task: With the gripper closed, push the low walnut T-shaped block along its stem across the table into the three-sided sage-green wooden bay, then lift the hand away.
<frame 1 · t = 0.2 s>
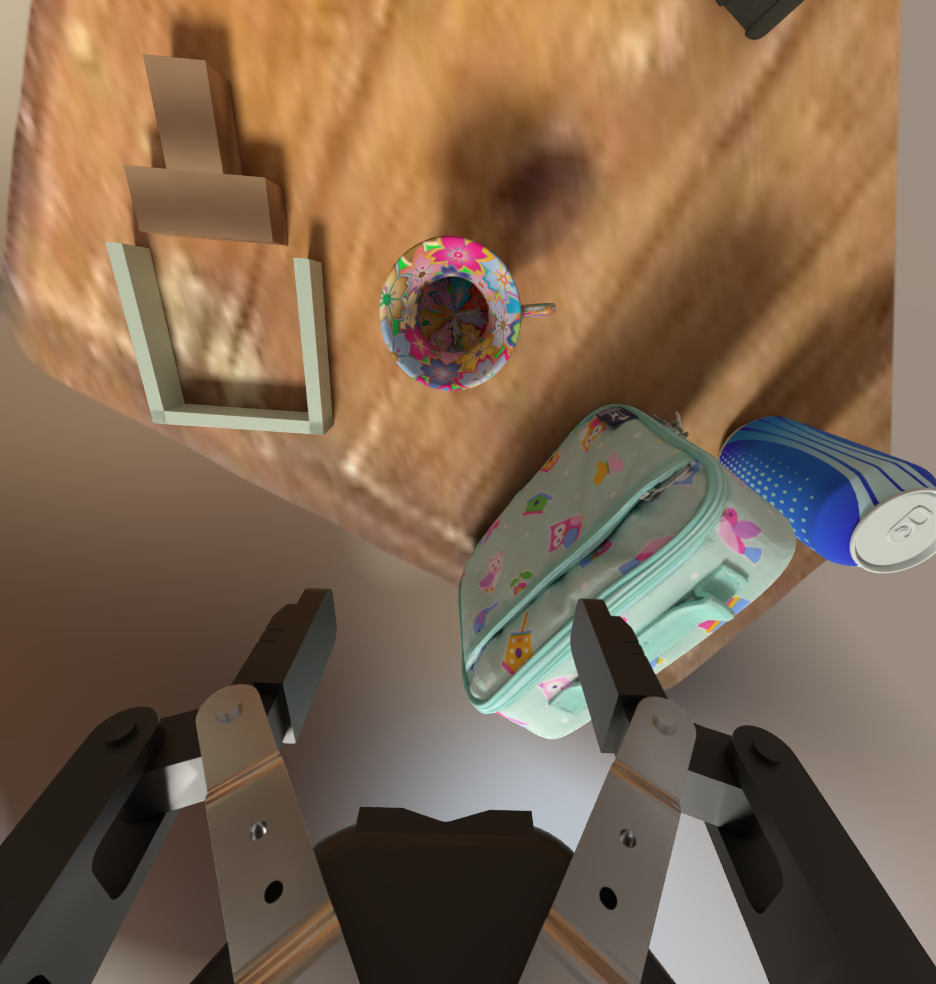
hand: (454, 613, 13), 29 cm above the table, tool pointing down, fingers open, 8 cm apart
lunch box: (557, 500, 44), on the table
bay: (241, 337, 37), on the table
t block: (215, 165, 31), on the table
beer can: (751, 452, 42), on the table
mug: (469, 313, 36), on the table
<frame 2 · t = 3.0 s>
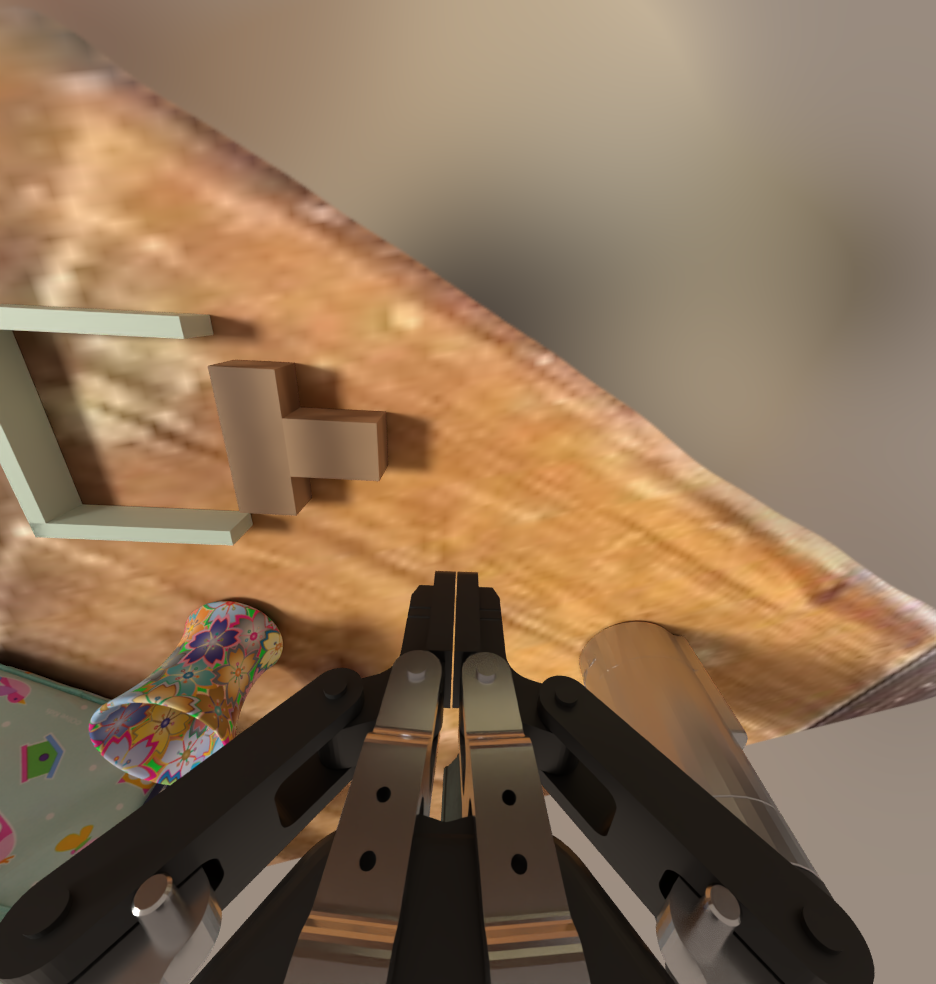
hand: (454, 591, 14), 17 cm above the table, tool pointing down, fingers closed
lunch box: (92, 712, 42), on the table
bay: (141, 427, 29), on the table
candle: (470, 766, 46), on the table
t block: (317, 435, 29), on the table
mug: (246, 640, 38), on the table
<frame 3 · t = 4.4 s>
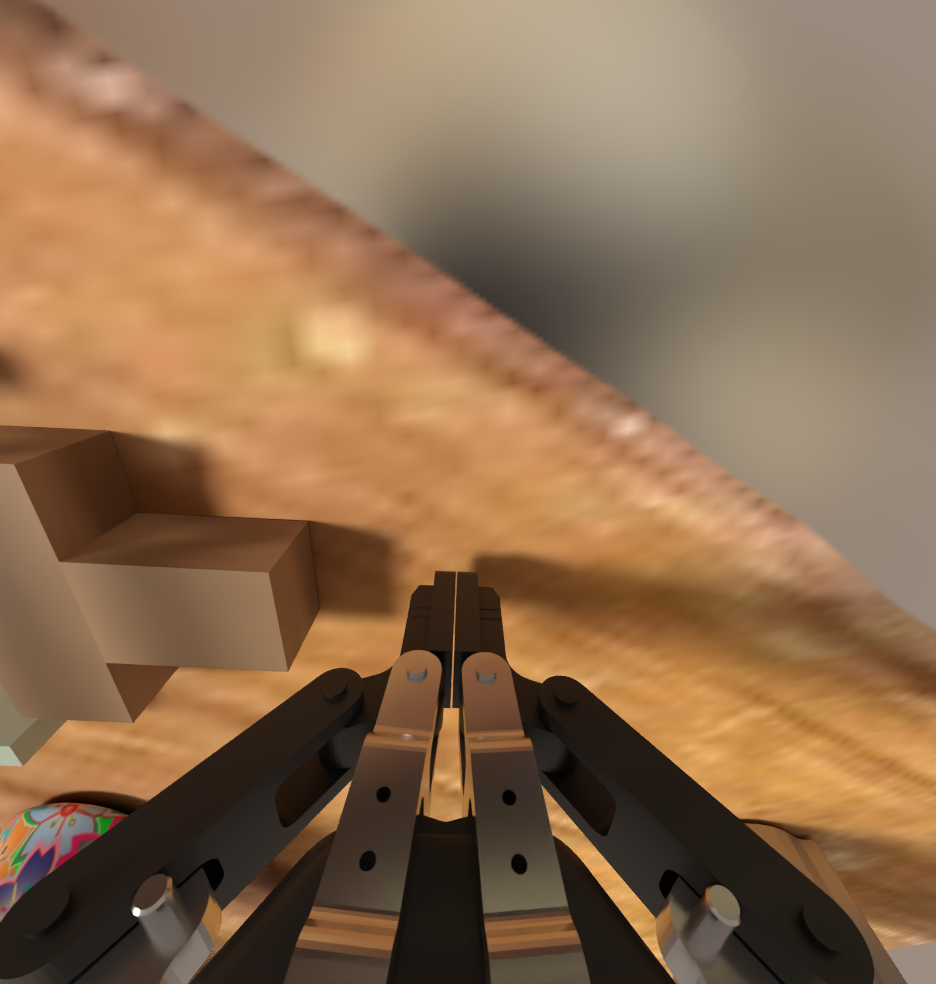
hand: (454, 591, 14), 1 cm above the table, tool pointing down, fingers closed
t block: (180, 560, 15), on the table
mug: (117, 839, 24), on the table
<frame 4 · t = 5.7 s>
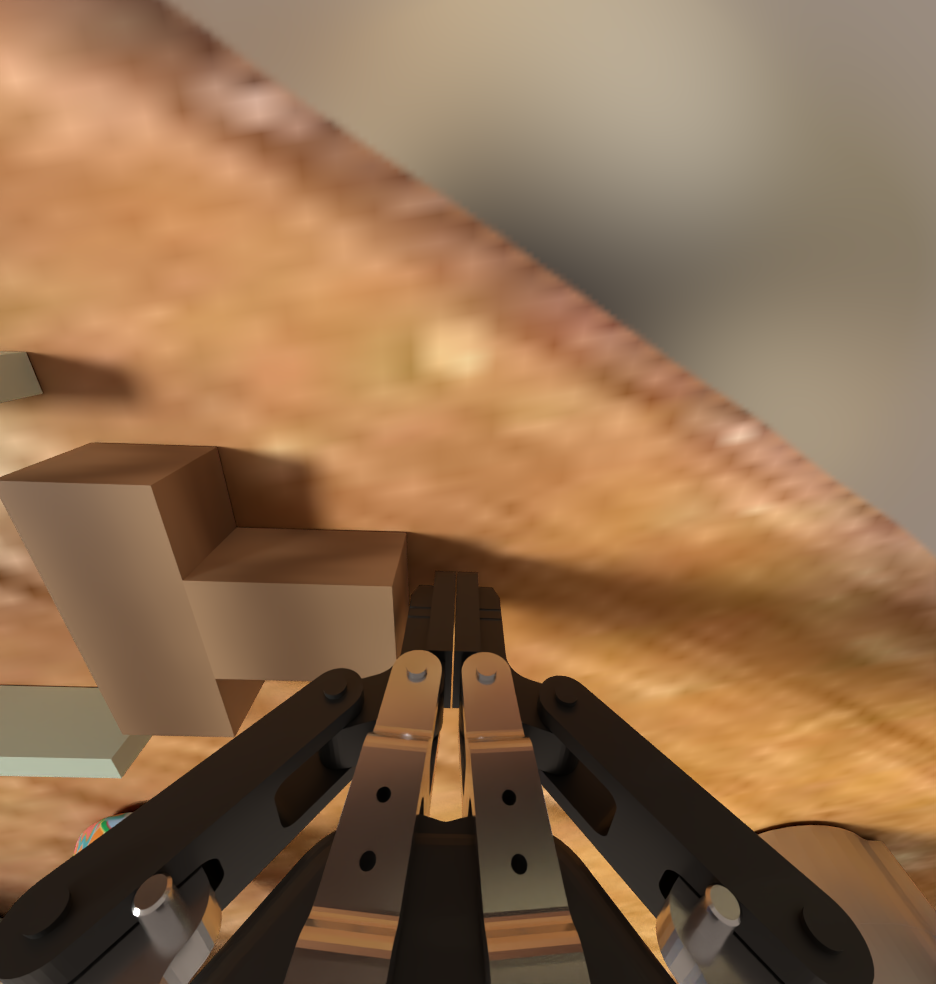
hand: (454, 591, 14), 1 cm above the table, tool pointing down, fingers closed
t block: (274, 574, 15), on the table, touching gripper
mug: (183, 847, 24), on the table
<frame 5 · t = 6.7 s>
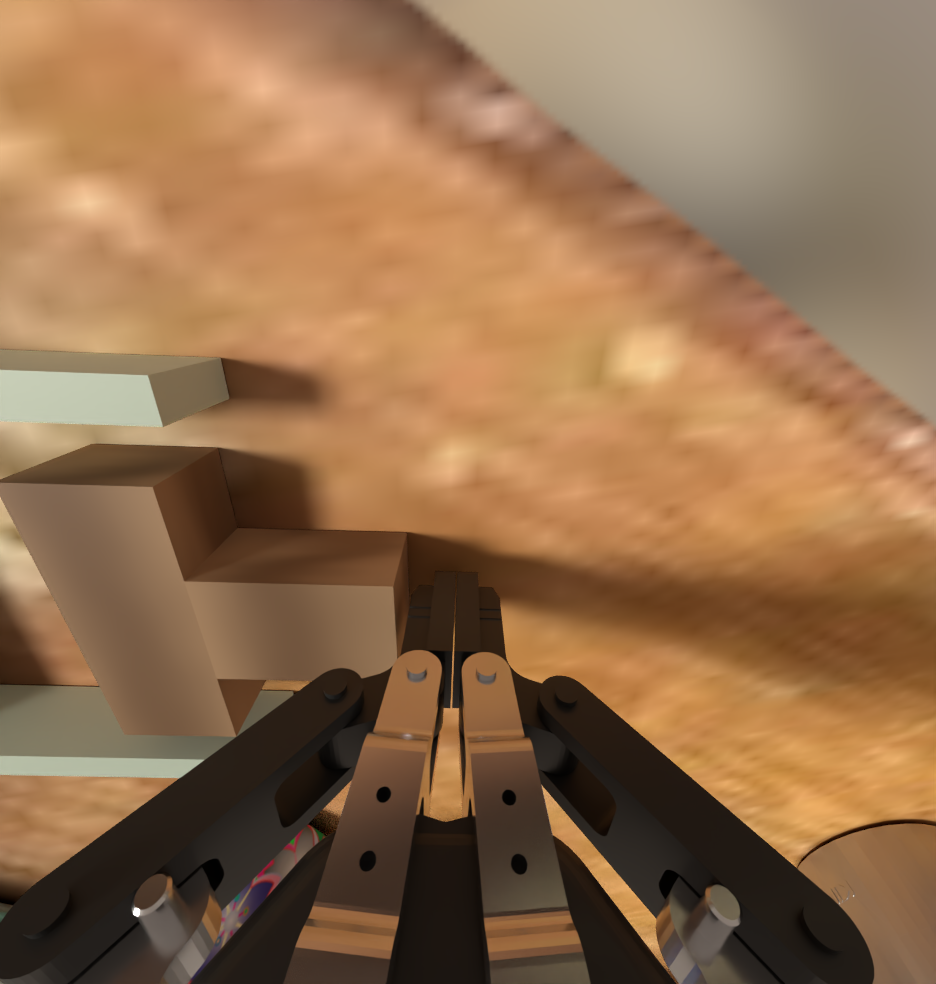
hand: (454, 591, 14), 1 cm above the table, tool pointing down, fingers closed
bay: (91, 567, 15), on the table
t block: (275, 574, 15), on the table, touching gripper
mug: (279, 847, 24), on the table
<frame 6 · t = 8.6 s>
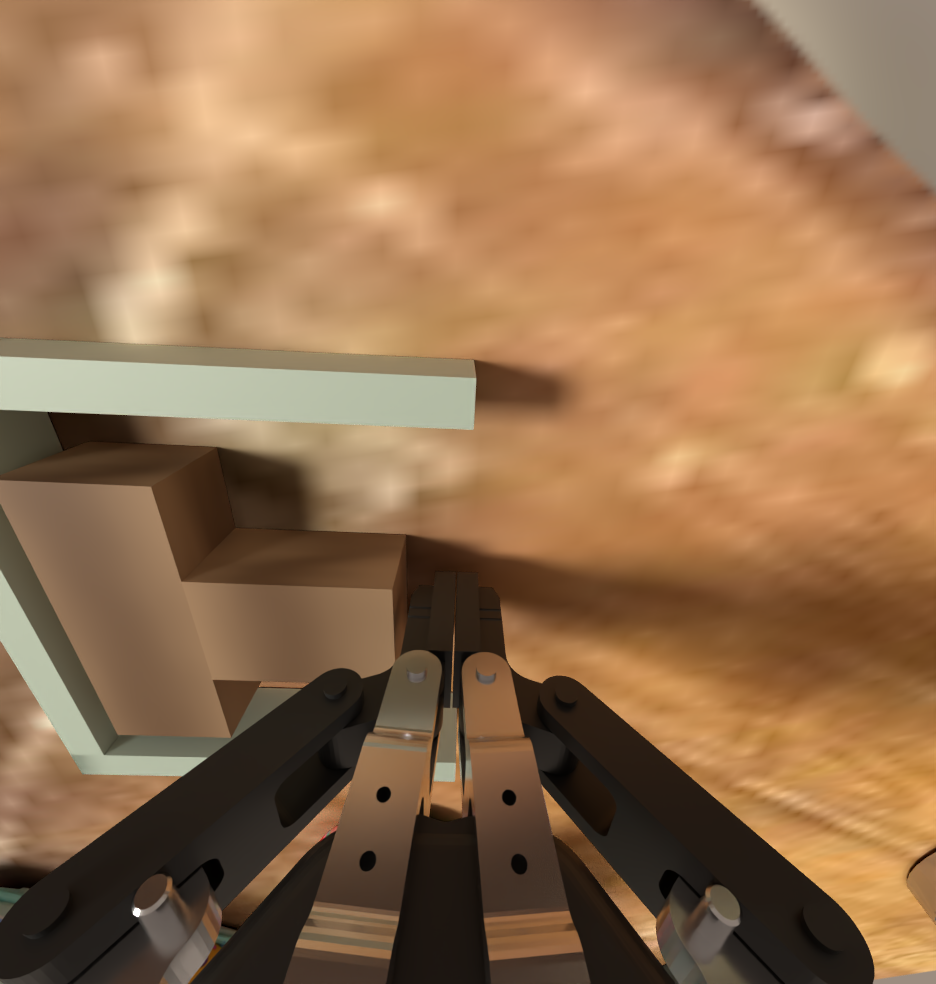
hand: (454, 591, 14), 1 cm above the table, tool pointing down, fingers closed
lunch box: (147, 924, 28), on the table
bay: (287, 568, 15), on the table
t block: (272, 574, 15), on the table, touching gripper
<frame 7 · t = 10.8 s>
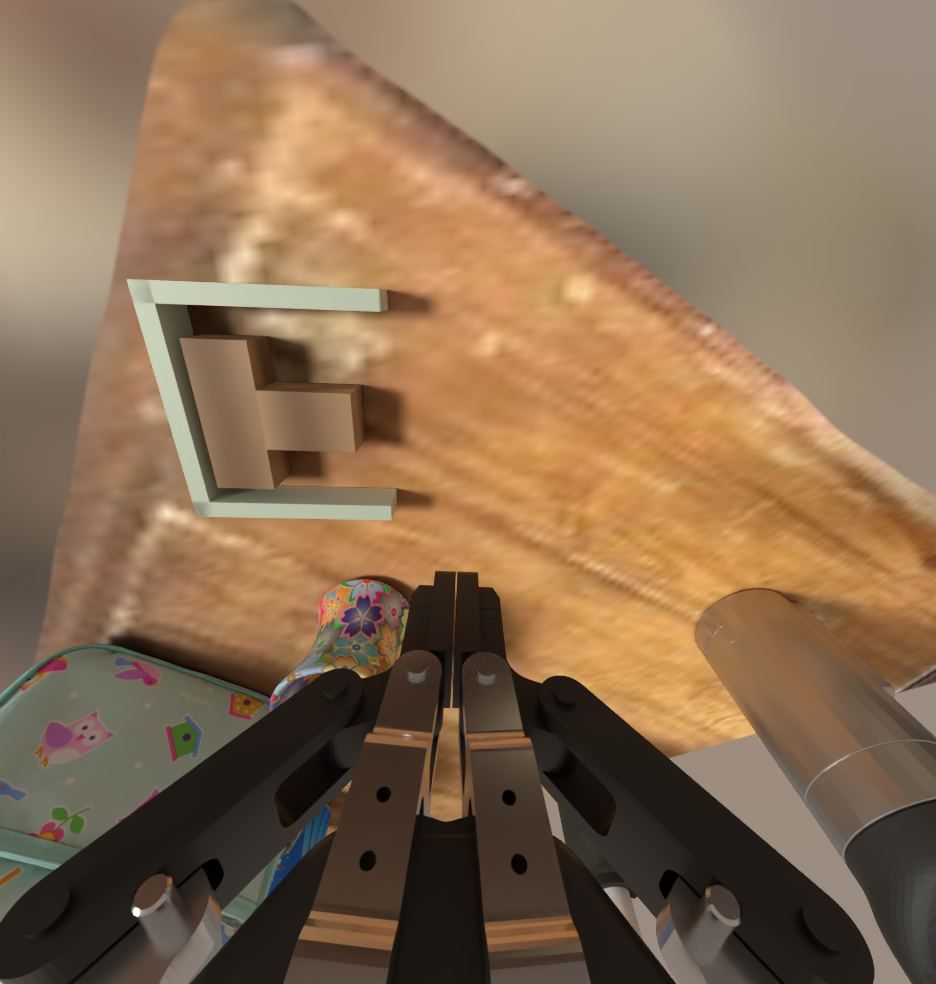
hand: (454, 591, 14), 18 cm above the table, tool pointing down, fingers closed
lunch box: (207, 696, 43), on the table
bay: (302, 405, 29), on the table
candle: (572, 738, 47), on the table
t block: (294, 410, 29), on the table
beer can: (300, 798, 51), on the table
mug: (371, 619, 38), on the table
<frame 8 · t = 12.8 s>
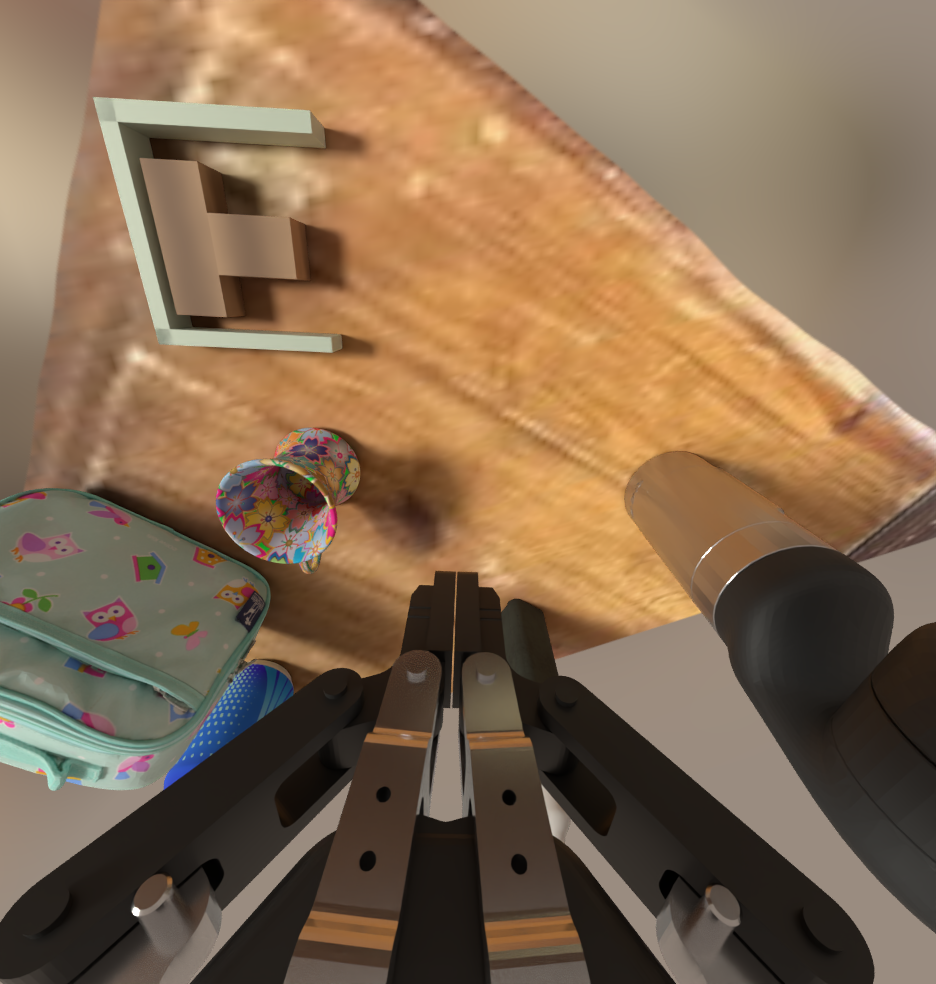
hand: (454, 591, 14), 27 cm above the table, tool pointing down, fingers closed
lunch box: (177, 558, 46), on the table
bay: (253, 244, 33), on the table
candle: (518, 617, 50), on the table
t block: (246, 249, 33), on the table
beer can: (266, 676, 55), on the table
mug: (324, 476, 42), on the table
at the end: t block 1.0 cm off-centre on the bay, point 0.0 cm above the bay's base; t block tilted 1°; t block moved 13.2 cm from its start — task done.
